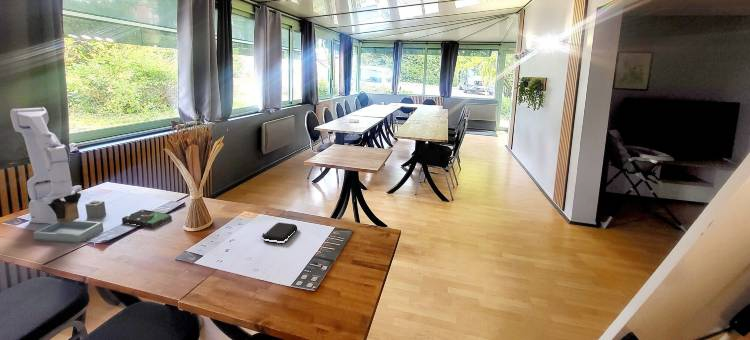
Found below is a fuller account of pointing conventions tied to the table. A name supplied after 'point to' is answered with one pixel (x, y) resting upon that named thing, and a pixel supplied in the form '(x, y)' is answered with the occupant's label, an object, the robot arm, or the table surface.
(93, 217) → the grey button block
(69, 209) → the walnut block
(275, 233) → the carrying case or bag
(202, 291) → the table surface
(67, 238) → the tray
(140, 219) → the disk drive
